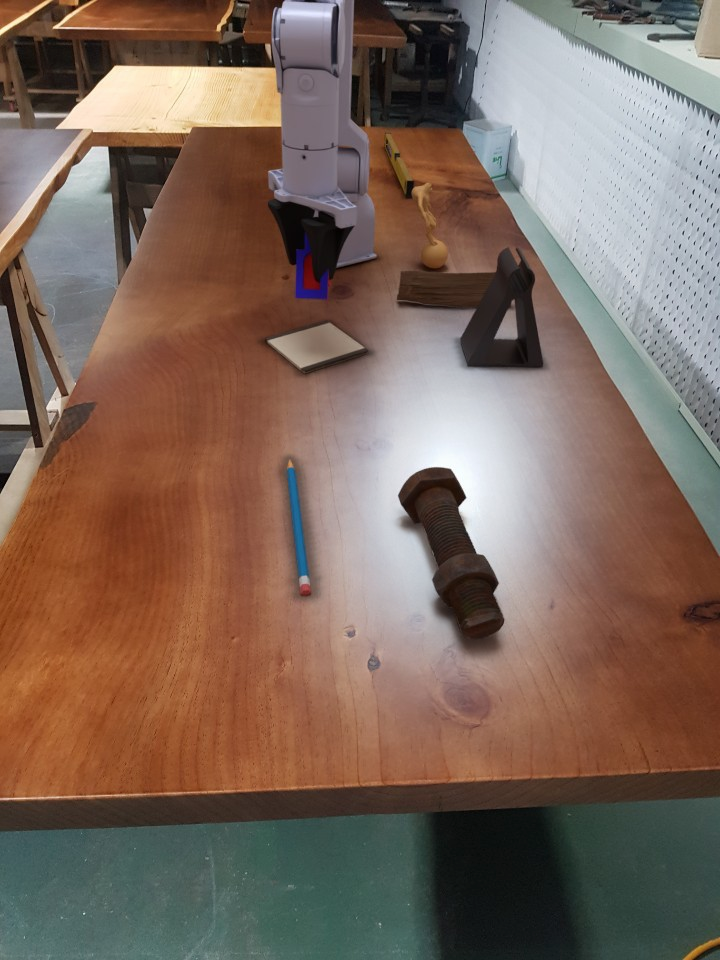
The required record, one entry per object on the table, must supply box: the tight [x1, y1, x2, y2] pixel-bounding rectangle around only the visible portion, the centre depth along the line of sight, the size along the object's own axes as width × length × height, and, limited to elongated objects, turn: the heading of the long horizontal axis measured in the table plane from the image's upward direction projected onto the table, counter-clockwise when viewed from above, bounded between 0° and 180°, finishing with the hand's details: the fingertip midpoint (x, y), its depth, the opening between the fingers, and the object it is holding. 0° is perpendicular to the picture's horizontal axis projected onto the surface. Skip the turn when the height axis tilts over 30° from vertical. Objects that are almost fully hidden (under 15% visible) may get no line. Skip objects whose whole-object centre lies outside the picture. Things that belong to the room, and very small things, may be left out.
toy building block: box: [294, 232, 332, 301], centre depth 80 cm, size 4×4×8 cm
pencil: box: [286, 459, 312, 596], centre depth 62 cm, size 1×17×1 cm, turn 9°
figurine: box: [411, 182, 449, 269], centre depth 102 cm, size 8×6×12 cm
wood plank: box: [396, 270, 512, 308], centre depth 94 cm, size 15×2×5 cm, turn 93°
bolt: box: [397, 466, 506, 640], centre depth 56 cm, size 6×5×15 cm
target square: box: [264, 320, 369, 374], centre depth 85 cm, size 9×9×1 cm
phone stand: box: [459, 246, 544, 368], centre depth 82 cm, size 9×6×12 cm, turn 92°
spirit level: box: [383, 132, 415, 199], centre depth 142 cm, size 33×1×3 cm, turn 5°
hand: (310, 271), depth 81 cm, fingers closed on toy building block, 5 cm apart
